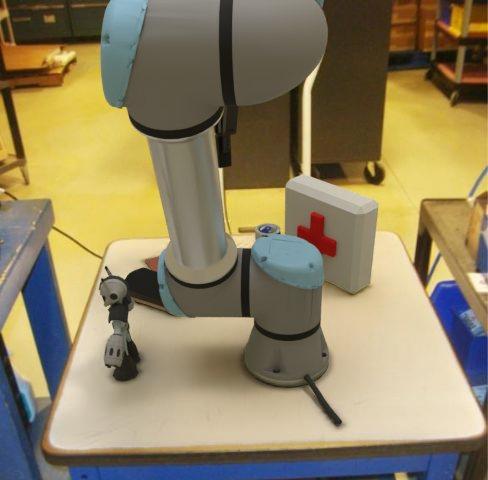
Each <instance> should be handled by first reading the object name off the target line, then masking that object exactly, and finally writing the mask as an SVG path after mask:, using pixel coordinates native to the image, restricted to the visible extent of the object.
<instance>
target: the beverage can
mask: <svg viewBox="0 0 488 480" xmlns="http://www.w3.org/2000/svg"><path fill="white" fill-rule="evenodd" d="M281 231H282V230H281V227H280V226H279V225H278V224H275V223H269V222H268V223H267V222H266V223H261V224H258V225H257V226H256V227H255V229H254V237H255V238H254V240H255V241H256V240H257V239H259V238H261V237H263V236H264V237H267V236H268V235H272V234H282V232H281ZM255 241H254V242H255Z"/></svg>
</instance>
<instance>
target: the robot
mask: <svg viewBox="0 0 488 480" xmlns="http://www.w3.org/2000/svg"><path fill="white" fill-rule="evenodd" d="M104 271H105V272H106V274H107V275H108V276H106V277H104V278H103V277H101V278H100V282H99V285H98V291H99V295H100V296H101V297H102V301H103V306H104V307H105V308H107V307H108V308H107V312H108V319H107V321H108V325H109V324H111V326H112V329H113V333H112V334H110V335H109V337H108V339H107V340H106V344H105V347H104V354H103V361H104V362H103V363H104V367H107V369H111V368H112V367H113V368H114V370H113V371H112V377H113V378H114V379H115V381H119V382H126V381H129V380H133V379H135V378H136V377H137V375H138V374H139V369H138V366H137V363H139V362H140V361H141V357H140V353H139V350H138V347H137V345H136V343H135V341H134V339H132V336H131V333H130V328H131V327H130V322H129V313H131V312H132V310H133V309H134V306H135V301H134V300H133V298H131V296H130V294H129V286H128V284H127V282H126V281H125V278H124V277H121V276H119V275H115V274H113V273H112V272H111V270H110V269H109V267H108V265H105V266H104Z"/></svg>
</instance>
